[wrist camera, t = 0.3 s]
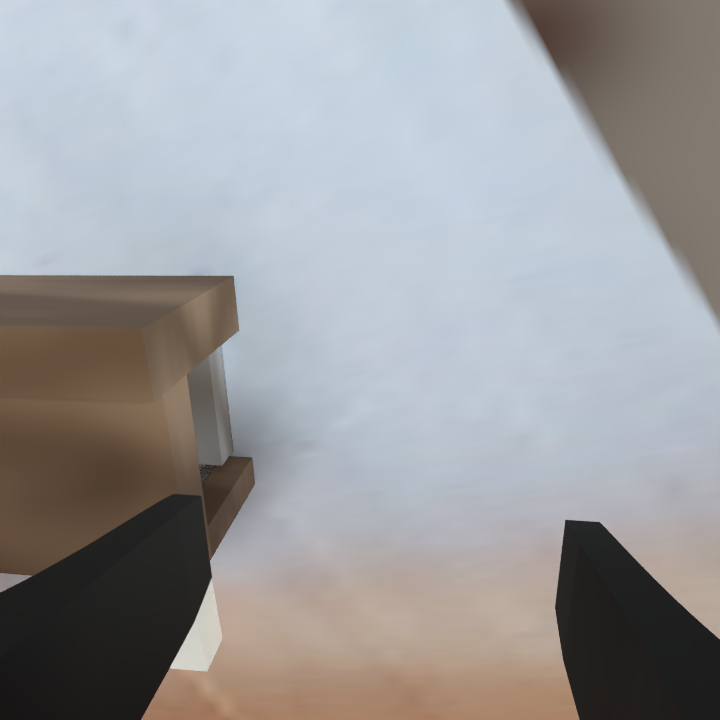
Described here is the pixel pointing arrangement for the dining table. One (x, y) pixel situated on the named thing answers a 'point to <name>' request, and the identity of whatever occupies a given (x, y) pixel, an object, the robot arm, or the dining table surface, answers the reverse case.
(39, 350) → the shelf
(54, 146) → the dining table surface
